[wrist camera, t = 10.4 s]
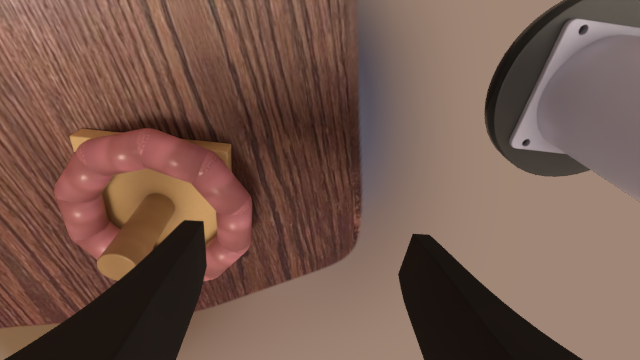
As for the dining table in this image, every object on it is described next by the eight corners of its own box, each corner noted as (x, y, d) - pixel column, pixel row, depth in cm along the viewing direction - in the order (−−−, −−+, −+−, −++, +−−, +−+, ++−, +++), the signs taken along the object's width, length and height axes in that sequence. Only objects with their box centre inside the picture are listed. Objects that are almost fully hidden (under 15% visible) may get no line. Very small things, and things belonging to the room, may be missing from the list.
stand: (231, 143, 20) (200, 205, 15) (233, 247, 25) (210, 326, 19) (81, 127, 19) (-14, 187, 14) (111, 239, 24) (50, 318, 18)
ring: (256, 132, 19) (250, 149, 17) (252, 274, 25) (247, 297, 23) (48, 110, 18) (16, 125, 16) (97, 264, 24) (79, 287, 22)
